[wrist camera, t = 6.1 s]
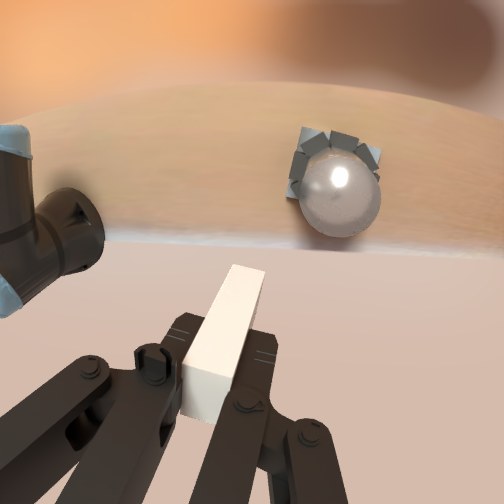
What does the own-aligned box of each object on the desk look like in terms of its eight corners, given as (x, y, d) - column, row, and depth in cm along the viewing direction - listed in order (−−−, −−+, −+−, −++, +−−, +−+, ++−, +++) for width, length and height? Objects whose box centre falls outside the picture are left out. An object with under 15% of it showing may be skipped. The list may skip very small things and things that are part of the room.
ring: (283, 202, 38) (281, 206, 36) (302, 122, 34) (301, 122, 32) (361, 223, 37) (363, 229, 35) (384, 146, 33) (387, 148, 31)
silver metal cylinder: (298, 197, 36) (290, 225, 26) (312, 140, 33) (310, 147, 23) (354, 212, 35) (366, 246, 26) (371, 157, 32) (390, 171, 23)
